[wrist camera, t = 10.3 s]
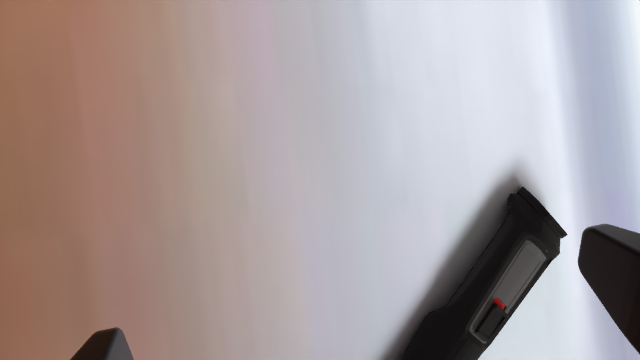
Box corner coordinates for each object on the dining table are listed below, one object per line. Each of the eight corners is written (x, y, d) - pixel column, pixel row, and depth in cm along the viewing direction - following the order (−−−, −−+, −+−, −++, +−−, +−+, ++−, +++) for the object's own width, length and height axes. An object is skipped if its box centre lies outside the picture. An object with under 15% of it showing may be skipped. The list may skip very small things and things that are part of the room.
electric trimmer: (338, 411, 25) (367, 453, 22) (513, 180, 27) (560, 191, 24) (384, 440, 27) (416, 483, 24) (546, 219, 29) (594, 234, 26)
